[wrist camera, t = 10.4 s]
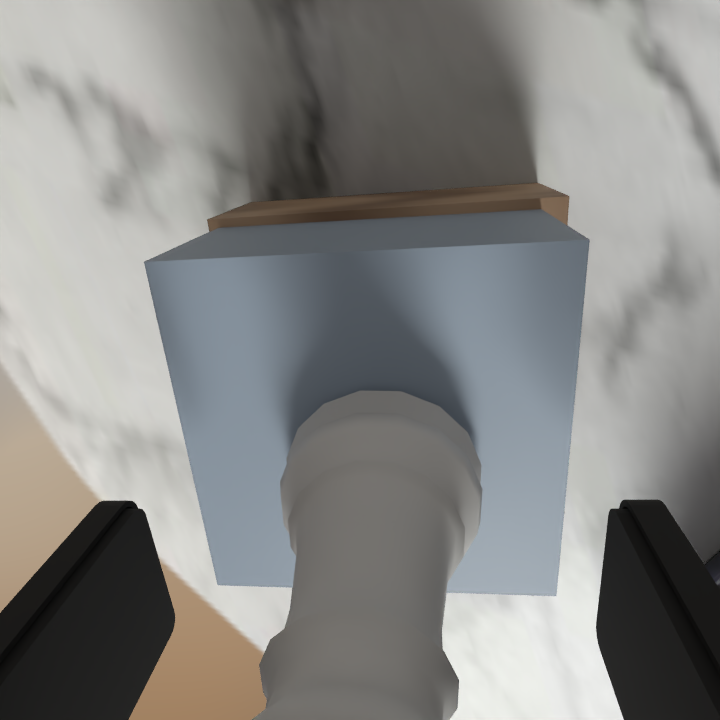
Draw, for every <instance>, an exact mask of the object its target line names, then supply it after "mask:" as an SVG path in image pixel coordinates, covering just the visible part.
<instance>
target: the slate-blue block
mask: <svg viewBox="0 0 720 720" xmlns="http://www.w3.org/2000/svg"><path fill="white" fill-rule="evenodd" d="M588 251H589V239H588V238H586V237H584V236H583V235H581V234H580V233H578V232H577V231H575V230H573V229H572V228H570V227H569V226H567V225H566V224H564V223H562V222H561V221H559V220H558V219H556V218H555V217H553V216H551V215H550V214H548V213H547V212H545V211H544V210H542V209H536V210H518V211H501V212H484V213H466V214H449V215H431V216H414V217H396V218H379V219H362V220H344V221H327V222H309V223H292V224H274V225H257V226H240V227H222V228H217V229H215V230H213V231H211V232H208V233H206V234H204V235H202V236H200V237H197V238H195V239H193V240H191V241H189V242H187V243H184V244H182V245H180V246H178V247H176V248H173V249H171V250H169V251H167V252H165V253H162V254H160V255H158V256H156V257H154V258H152V259H149V260H147V261H145V262H144V264H145V268H146V273H147V277H148V281H149V286H150V290H151V295H152V299H153V303H154V308H155V312H156V316H157V321H158V325H159V330H160V334H161V338H162V343H163V347H164V352H165V356H166V360H167V365H168V369H169V373H170V378H171V382H172V387H173V391H174V395H175V400H176V404H177V409H178V413H179V417H180V422H181V426H182V431H183V435H184V439H185V444H186V448H187V452H188V457H189V461H190V466H191V470H192V474H193V479H194V483H195V488H196V492H197V496H198V501H199V505H200V509H201V514H202V518H203V523H204V527H205V531H206V536H207V540H208V545H209V549H210V553H211V558H212V562H213V566H214V571H215V575H216V580H217V584H218V585H230V586H261V587H292V588H293V580H294V571H295V563H296V555H295V554H294V552H293V550H292V549H291V546H290V536H289V533H288V532H287V530H286V528H285V526H284V523H283V513H282V504H281V494H280V480H281V478H282V475H283V473H284V470H285V467H286V465H287V460H286V458H287V456H288V453H289V450H290V448H291V445H292V443H293V440H294V437H295V435H296V432H297V430H298V428H299V427H300V426H301V425H302V424H303V423H304V422H305V421H306V420H307V419H308V418H309V417H310V416H311V415H312V414H313V413H315V412H316V411H317V410H318V409H319V408H320V407H321V406H322V405H323V404H325V403H327V402H330V401H333V400H336V399H338V398H341V397H344V396H347V395H349V394H352V393H355V392H357V391H360V390H361V391H402V392H405V393H407V394H410V395H412V396H415V397H417V398H420V399H422V400H425V401H428V402H430V403H433V404H435V405H438V406H440V407H441V408H442V409H443V410H444V411H445V412H446V413H447V414H448V415H450V416H451V417H452V418H453V419H454V420H455V421H456V422H457V423H458V424H459V425H460V426H461V427H462V428H464V429H465V430H466V431H467V432H468V434H469V436H470V439H471V441H472V444H473V446H474V448H475V451H476V453H477V455H478V458H479V460H480V462H481V465H482V466H481V482H480V484H481V487H482V489H483V490H482V505H481V520H480V526H479V529H478V533H477V535H476V537H475V538H474V540H473V542H472V543H471V545H470V547H469V548H468V550H467V552H466V553H465V555H464V557H463V558H462V560H461V562H460V563H459V565H458V567H457V568H456V570H455V572H454V573H453V575H452V577H451V578H450V580H449V581H448V583H447V592H446V593H476V594H506V595H537V596H556V594H557V583H558V572H559V561H560V551H561V540H562V529H563V519H564V508H565V497H566V486H567V476H568V465H569V454H570V444H571V433H572V422H573V412H574V401H575V390H576V379H577V369H578V358H579V347H580V337H581V326H582V315H583V304H584V294H585V283H586V272H587V262H588Z"/></svg>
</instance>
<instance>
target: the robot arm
mask: <svg viewBox="0 0 720 720" xmlns="http://www.w3.org/2000/svg"><path fill="white" fill-rule="evenodd" d="M174 623H175V613H174V609H173V606H172V602H171V598H170V595H169V592H168V588H167V585H166V582H165V578H164V575H163V571H162V568H161V565H160V561H159V558H158V554H157V551H156V548H155V544H154V541H153V538H152V534H151V531H150V527H149V524H148V521H147V517H146V514H145V512H144V511H143V510H142V509H138V507H137V505H136V504H135V503H134V502H133V501H101V502H99V503H98V504H97V505H95V507H94V508H93V509H92V510H91V511H90V512H89V513H88V514H87V516H86V517H85V518H84V519H83V520H82V521H81V522H80V523H79V525H78V526H77V527H76V528H75V529H74V530H73V531H72V532H71V534H70V535H69V536H68V537H67V538H66V539H65V540H64V542H63V543H62V544H61V545H60V546H59V547H58V549H57V550H56V551H55V552H54V553H53V554H52V555H51V556H50V557H49V558H48V560H47V561H46V562H45V563H44V564H43V565H42V566H41V568H40V569H39V570H38V571H37V572H36V573H35V574H34V575H33V577H32V578H31V579H30V580H29V581H28V582H27V583H26V585H25V586H24V587H23V588H22V589H21V590H20V591H19V592H18V593H17V595H16V596H15V597H14V598H13V599H12V600H11V601H10V603H9V604H8V605H7V606H6V607H5V608H4V609H3V610H2V612H1V613H0V720H128V719H129V717H130V715H131V713H132V711H133V709H134V707H135V705H136V703H137V701H138V699H139V697H140V695H141V693H142V691H143V690H144V688H145V686H146V684H147V682H148V680H149V678H150V676H151V674H152V672H153V670H154V668H155V666H156V664H157V662H158V660H159V658H160V656H161V654H162V652H163V650H164V648H165V646H166V644H167V642H168V640H169V638H170V636H171V634H172V632H173V628H174ZM596 632H597V639H598V644H599V648H600V651H601V654H602V657H603V660H604V663H605V666H606V669H607V671H608V674H609V677H610V680H611V683H612V686H613V689H614V692H615V695H616V698H617V701H618V704H619V707H620V710H621V712H622V715H623V718H624V720H720V585H717V584H716V583H715V581H714V579H713V578H712V576H711V575H710V573H709V572H708V570H707V569H706V567H705V566H704V564H703V563H702V561H701V559H700V558H699V556H698V555H697V553H696V552H695V550H694V549H693V547H692V546H691V544H690V543H689V541H688V539H687V538H686V536H685V535H684V533H683V532H682V530H681V529H680V527H679V526H678V524H677V523H676V521H675V519H674V518H673V516H672V515H671V513H670V512H669V510H668V509H667V507H666V506H665V504H664V503H663V502H662V501H660V500H623V501H622V502H621V504H620V508H619V509H611V510H610V511H609V516H608V524H607V533H606V542H605V551H604V560H603V569H602V578H601V587H600V595H599V604H598V613H597V622H596Z"/></svg>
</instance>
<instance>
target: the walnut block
mask: <svg viewBox="0 0 720 720" xmlns="http://www.w3.org/2000/svg"><path fill="white" fill-rule="evenodd" d="M568 207H569V196H568V195H565V194H563V193H561V192H558V191H556V190H554V189H551V188H549V187H547V186H544V185H542V184H539V183H528V184H513V185H498V186H484V187H469V188H454V189H440V190H425V191H410V192H396V193H381V194H366V195H352V196H337V197H322V198H308V199H293V200H278V201H264V202H251V203H248V204H246V205H243V206H240V207H238V208H235V209H233V210H230V211H228V212H225V213H223V214H220V215H218V216H215V217H213V218H210V219H207V221H208V226H209V232H211V231H213V230H215V229H217V228H222V227H240V226H257V225H274V224H292V223H309V222H327V221H344V220H362V219H379V218H396V217H414V216H431V215H449V214H466V213H484V212H501V211H518V210H536V209H542V210H544V211H545V212H547V213H548V214H550V215H551V216H553V217H555V218H556V219H558V220H559V221H561V222H562V223H564V224H566V225H567V221H568Z"/></svg>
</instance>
